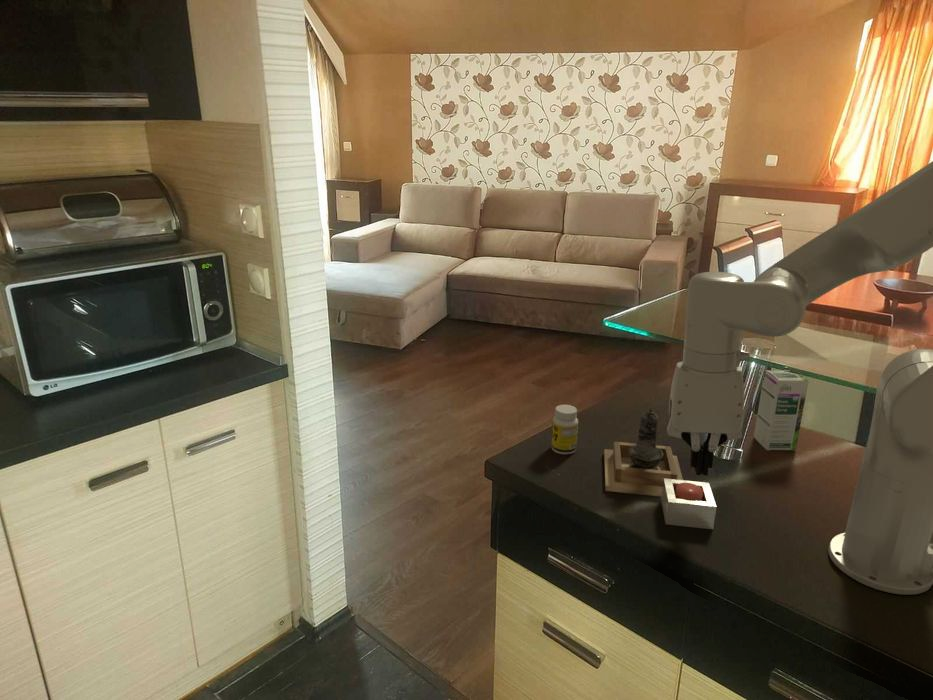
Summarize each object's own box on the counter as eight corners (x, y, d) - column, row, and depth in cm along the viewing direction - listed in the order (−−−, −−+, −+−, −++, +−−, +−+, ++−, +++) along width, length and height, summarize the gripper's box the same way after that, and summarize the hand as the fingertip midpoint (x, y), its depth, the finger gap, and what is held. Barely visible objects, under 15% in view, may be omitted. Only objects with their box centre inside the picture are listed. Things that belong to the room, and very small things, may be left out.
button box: (705, 504, 105) (708, 482, 104) (713, 529, 99) (716, 506, 97) (661, 499, 106) (663, 478, 105) (665, 524, 100) (668, 501, 99)
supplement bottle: (549, 443, 125) (551, 403, 122) (573, 443, 125) (576, 403, 122) (553, 455, 120) (555, 414, 117) (578, 455, 120) (581, 414, 118)
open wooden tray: (676, 460, 119) (678, 443, 117) (685, 498, 107) (688, 480, 105) (604, 453, 121) (605, 437, 120) (605, 490, 109) (607, 472, 108)
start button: (698, 500, 104) (700, 484, 103) (702, 514, 100) (705, 497, 99) (672, 497, 104) (674, 481, 103) (675, 511, 100) (677, 495, 100)
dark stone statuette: (622, 473, 112) (628, 410, 108) (631, 458, 117) (637, 398, 113) (657, 482, 110) (664, 418, 106) (664, 466, 115) (671, 404, 110)
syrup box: (766, 451, 122) (779, 380, 117) (752, 436, 128) (764, 368, 123) (796, 451, 122) (810, 380, 118) (781, 436, 128) (794, 368, 123)
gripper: (758, 351, 96) (746, 462, 101) (654, 349, 98) (648, 457, 104) (772, 368, 89) (758, 486, 94) (659, 365, 91) (652, 480, 97)
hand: (700, 470), depth 99 cm, fingers closed
